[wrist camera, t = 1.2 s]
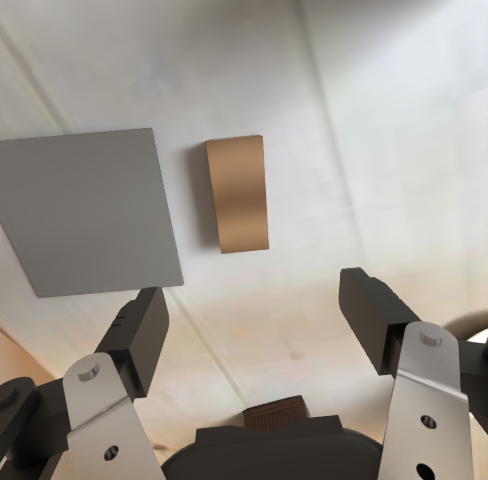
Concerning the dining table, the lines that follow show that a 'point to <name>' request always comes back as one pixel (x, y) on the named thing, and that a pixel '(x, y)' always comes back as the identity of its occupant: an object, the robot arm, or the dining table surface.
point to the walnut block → (239, 192)
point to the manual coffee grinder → (276, 414)
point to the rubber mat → (88, 212)
